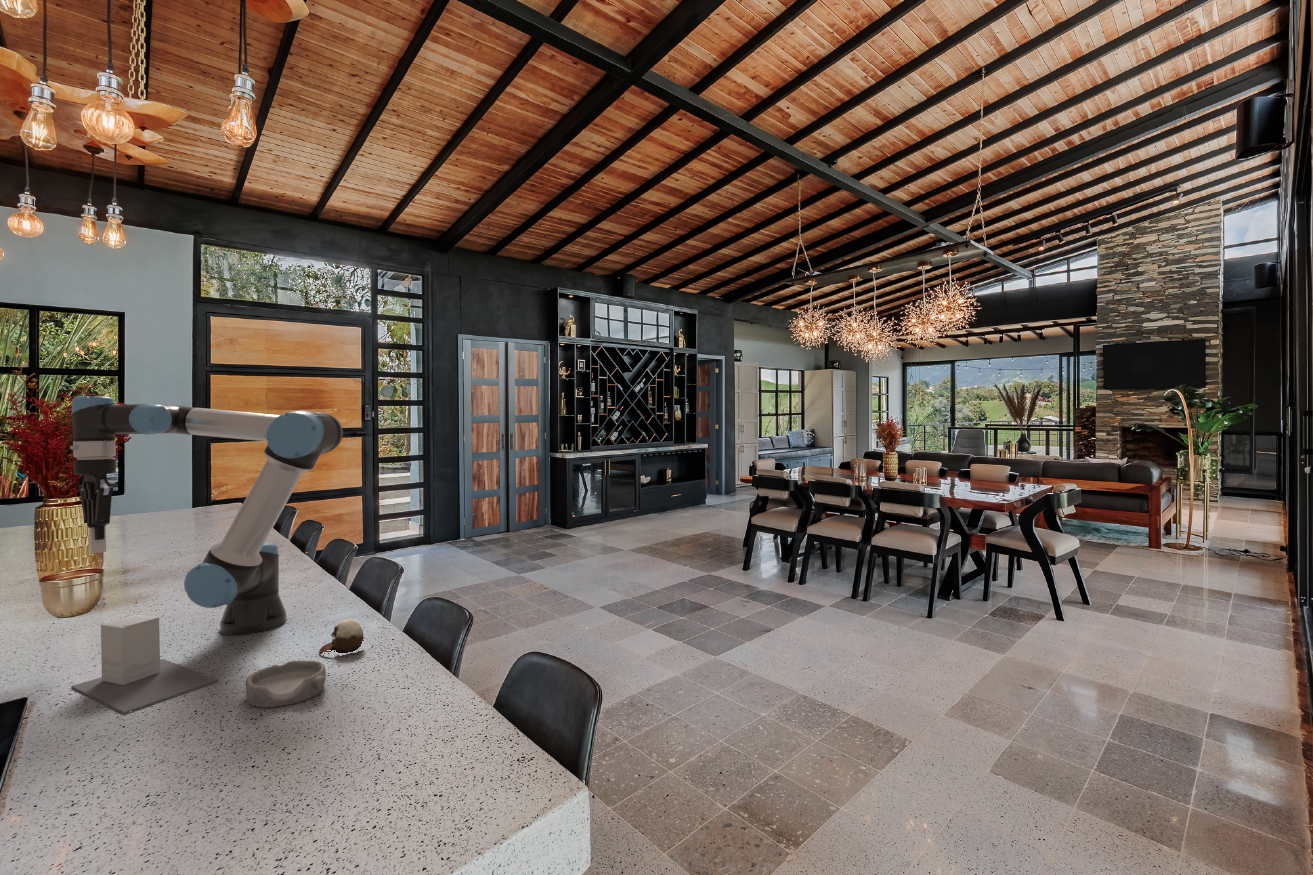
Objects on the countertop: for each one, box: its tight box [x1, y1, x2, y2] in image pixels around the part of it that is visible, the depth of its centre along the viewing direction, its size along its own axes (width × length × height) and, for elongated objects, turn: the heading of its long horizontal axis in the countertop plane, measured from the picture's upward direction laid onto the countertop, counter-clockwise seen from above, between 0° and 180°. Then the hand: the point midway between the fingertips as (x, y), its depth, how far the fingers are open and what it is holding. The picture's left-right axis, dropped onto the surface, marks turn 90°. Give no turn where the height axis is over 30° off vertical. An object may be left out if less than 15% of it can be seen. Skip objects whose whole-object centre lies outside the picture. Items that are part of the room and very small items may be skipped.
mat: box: [70, 658, 219, 715], centre depth 124 cm, size 24×16×1 cm, turn 63°
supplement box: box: [100, 613, 161, 685], centre depth 126 cm, size 7×7×13 cm
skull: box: [318, 619, 366, 656], centre depth 144 cm, size 12×10×10 cm
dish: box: [245, 660, 327, 709], centre depth 120 cm, size 14×14×5 cm
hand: (97, 552), depth 143 cm, fingers closed
